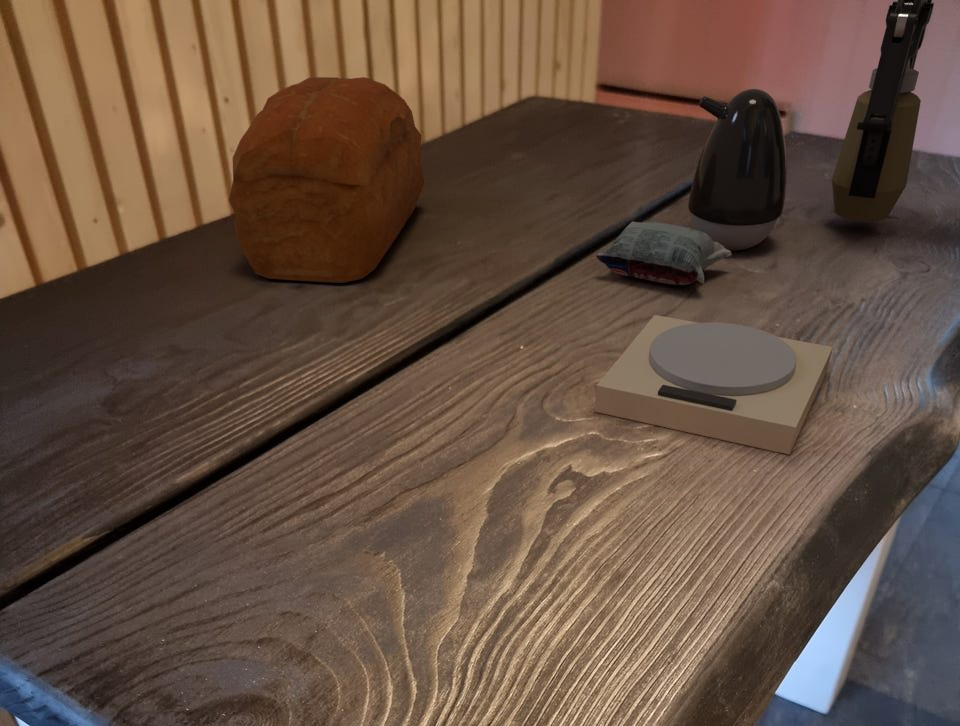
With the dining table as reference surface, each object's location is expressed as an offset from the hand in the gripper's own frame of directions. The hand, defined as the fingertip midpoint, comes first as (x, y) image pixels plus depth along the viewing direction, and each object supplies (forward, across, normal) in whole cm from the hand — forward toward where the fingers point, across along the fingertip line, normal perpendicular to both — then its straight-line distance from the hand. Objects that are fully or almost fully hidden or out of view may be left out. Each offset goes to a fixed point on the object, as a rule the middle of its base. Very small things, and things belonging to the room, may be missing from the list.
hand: (868, 184), depth 104 cm
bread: (+4, +28, -53) cm, 60 cm away
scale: (+5, +46, -4) cm, 46 cm away
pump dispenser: (+5, +11, -12) cm, 17 cm away
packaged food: (+5, +23, -16) cm, 28 cm away
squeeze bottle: (+3, 0, 0) cm, 3 cm away
